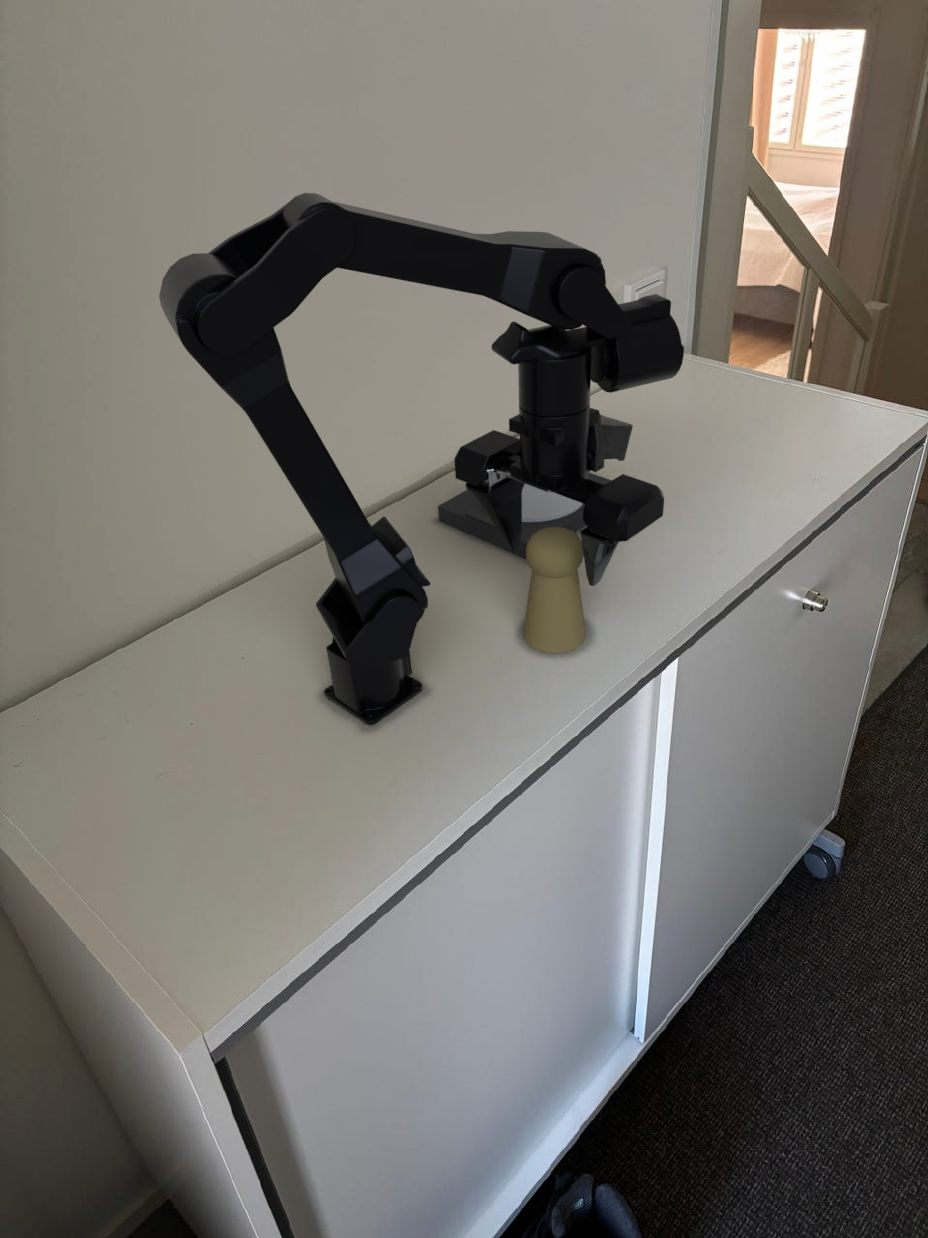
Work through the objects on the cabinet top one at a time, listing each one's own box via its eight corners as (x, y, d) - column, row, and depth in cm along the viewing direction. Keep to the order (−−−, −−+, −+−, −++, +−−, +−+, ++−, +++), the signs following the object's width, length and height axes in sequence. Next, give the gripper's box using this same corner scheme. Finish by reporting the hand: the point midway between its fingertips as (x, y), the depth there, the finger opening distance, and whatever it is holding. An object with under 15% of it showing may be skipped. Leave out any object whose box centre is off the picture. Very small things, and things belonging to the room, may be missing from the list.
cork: (597, 626, 88) (600, 527, 82) (568, 660, 84) (569, 559, 78) (541, 609, 91) (541, 512, 85) (511, 641, 87) (508, 542, 81)
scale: (531, 561, 98) (531, 540, 97) (438, 520, 107) (437, 501, 105) (624, 500, 108) (625, 480, 107) (533, 467, 116) (532, 448, 115)
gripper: (709, 398, 73) (691, 563, 82) (530, 350, 84) (531, 501, 93) (627, 447, 67) (618, 620, 76) (445, 388, 78) (456, 546, 87)
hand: (553, 565), depth 83 cm, fingers open, 9 cm apart
